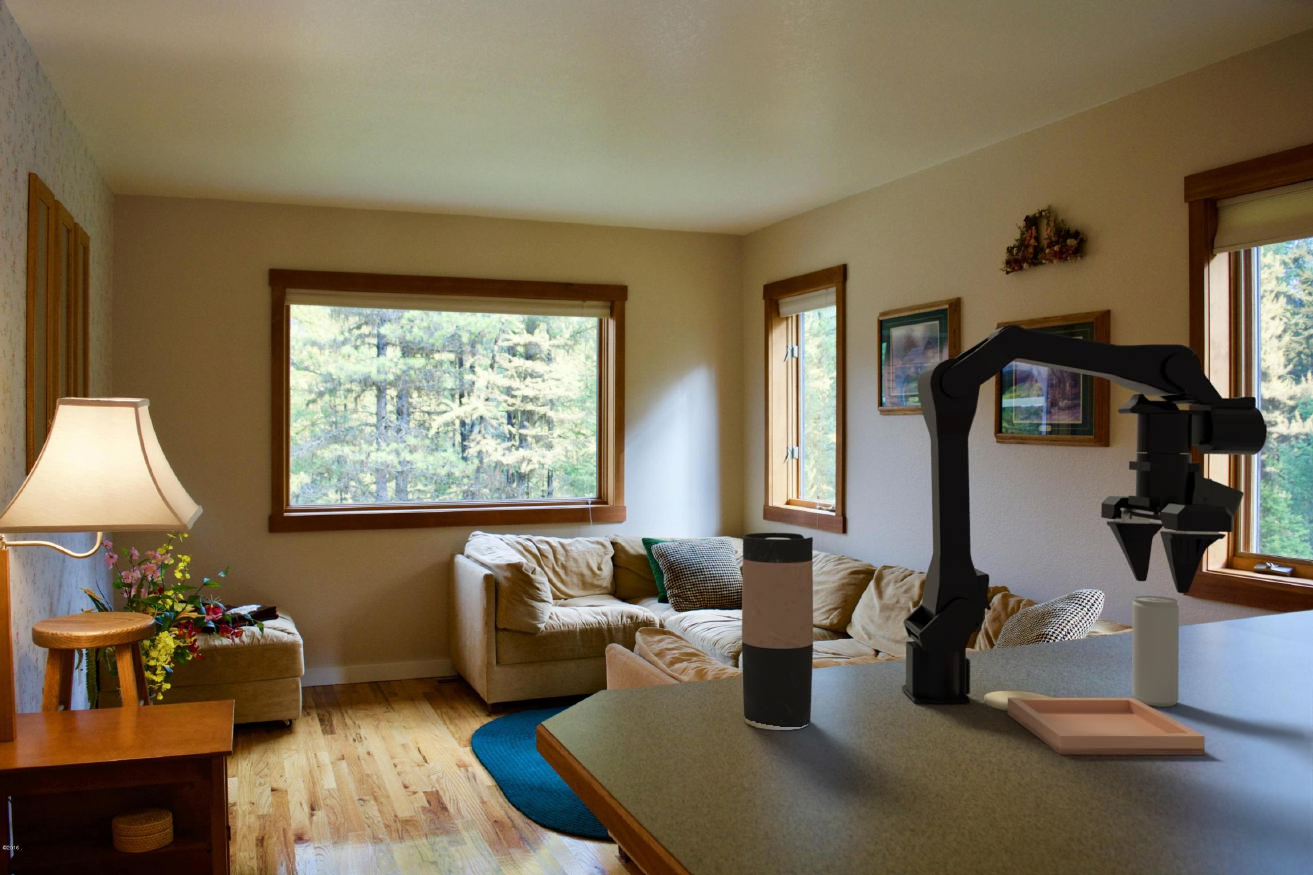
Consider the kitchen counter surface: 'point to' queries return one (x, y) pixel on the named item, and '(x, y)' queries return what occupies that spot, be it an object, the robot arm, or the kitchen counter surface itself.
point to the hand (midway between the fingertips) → (1161, 586)
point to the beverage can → (1155, 650)
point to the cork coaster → (1001, 698)
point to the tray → (1104, 727)
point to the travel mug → (777, 628)
